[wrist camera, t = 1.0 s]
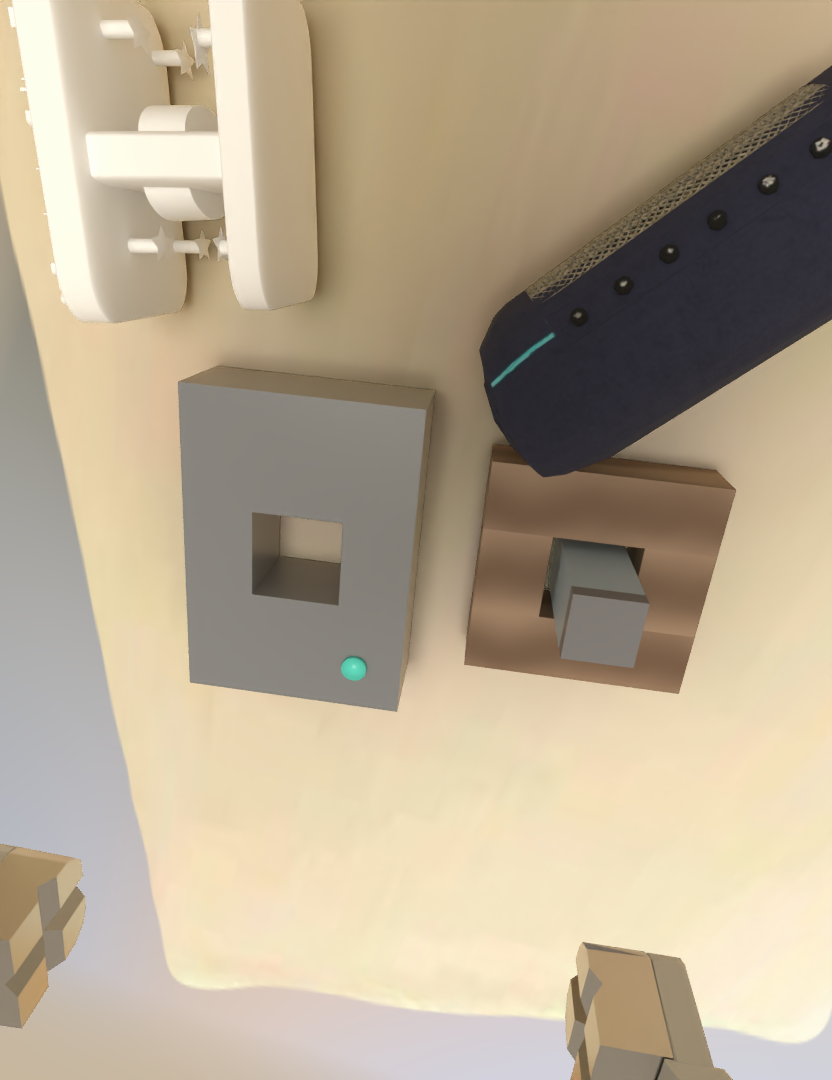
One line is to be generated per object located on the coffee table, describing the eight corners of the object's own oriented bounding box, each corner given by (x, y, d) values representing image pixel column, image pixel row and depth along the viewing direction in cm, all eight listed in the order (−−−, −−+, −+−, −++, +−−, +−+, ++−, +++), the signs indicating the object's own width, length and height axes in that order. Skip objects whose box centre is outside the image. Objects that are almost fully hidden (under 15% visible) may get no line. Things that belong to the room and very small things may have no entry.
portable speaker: (861, 35, 35) (990, -42, 26) (941, 212, 38) (1085, 199, 28) (451, 337, 43) (438, 360, 34) (540, 468, 45) (551, 523, 36)
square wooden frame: (492, 444, 45) (492, 461, 41) (716, 470, 44) (736, 490, 40) (466, 634, 50) (464, 664, 47) (665, 660, 49) (678, 693, 46)
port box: (217, 365, 45) (174, 382, 39) (435, 390, 44) (425, 411, 38) (222, 637, 52) (187, 685, 47) (407, 662, 52) (396, 715, 46)
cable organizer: (325, 312, 43) (268, 333, 32) (159, 308, 44) (49, 325, 33) (316, 16, 37) (243, -80, 27) (125, 18, 38) (-19, -74, 27)
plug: (558, 526, 46) (573, 594, 37) (619, 533, 46) (649, 603, 37) (548, 580, 48) (560, 658, 39) (607, 588, 48) (633, 668, 39)
